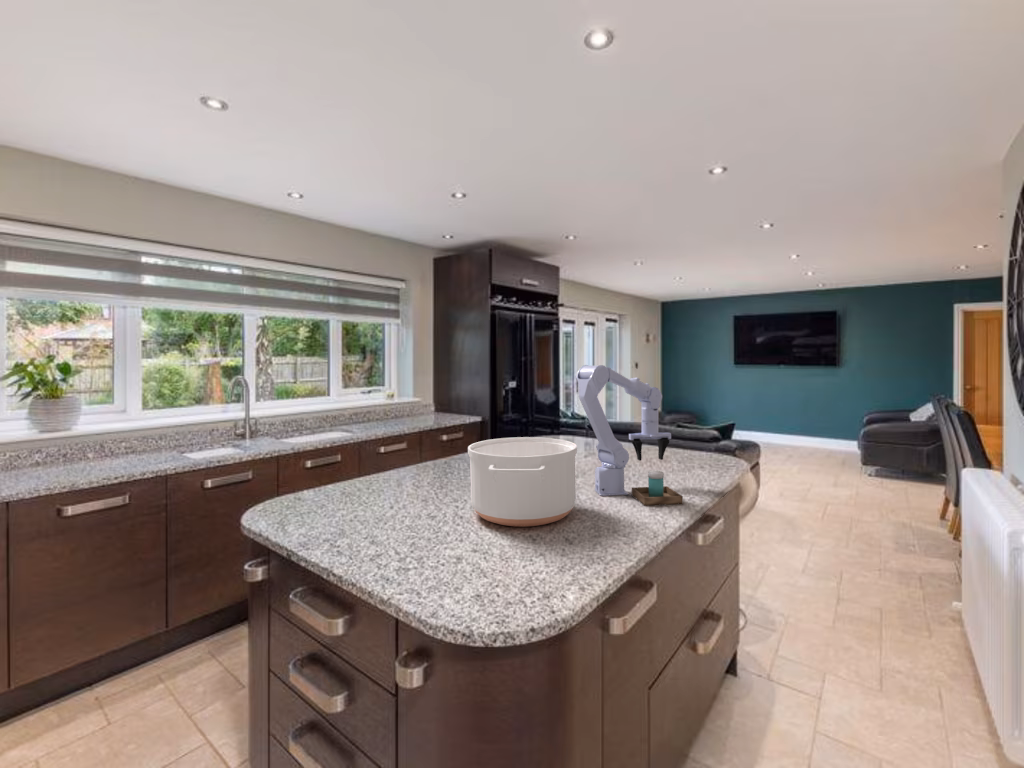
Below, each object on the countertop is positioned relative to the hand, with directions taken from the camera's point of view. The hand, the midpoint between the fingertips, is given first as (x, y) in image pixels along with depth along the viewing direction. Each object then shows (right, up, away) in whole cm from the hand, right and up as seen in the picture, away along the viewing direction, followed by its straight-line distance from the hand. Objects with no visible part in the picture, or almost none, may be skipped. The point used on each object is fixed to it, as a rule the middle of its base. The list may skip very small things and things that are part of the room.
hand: (650, 459), depth 171 cm
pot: (-45, -12, -27) cm, 54 cm away
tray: (-3, -10, -16) cm, 19 cm away
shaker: (-3, -10, -16) cm, 18 cm away
